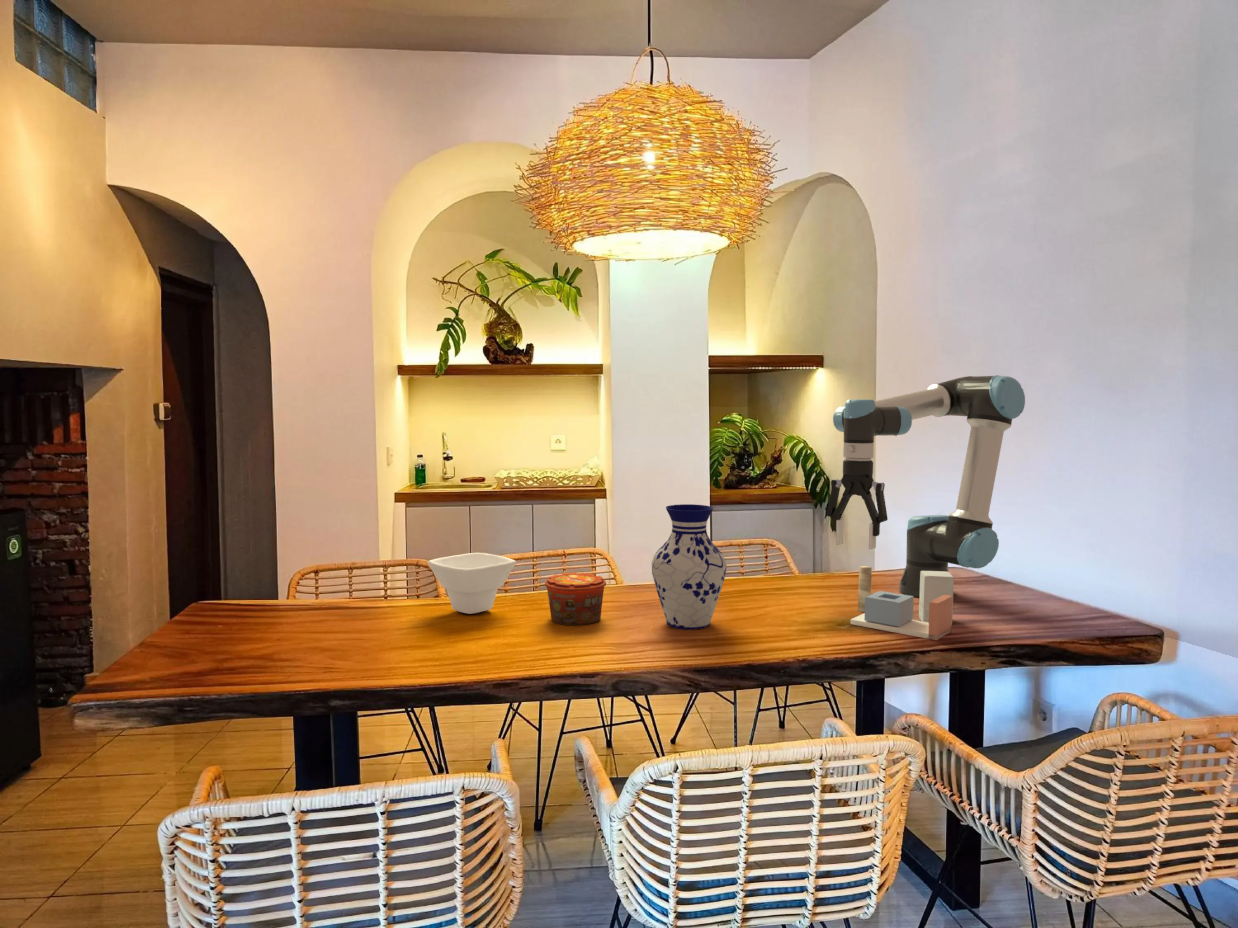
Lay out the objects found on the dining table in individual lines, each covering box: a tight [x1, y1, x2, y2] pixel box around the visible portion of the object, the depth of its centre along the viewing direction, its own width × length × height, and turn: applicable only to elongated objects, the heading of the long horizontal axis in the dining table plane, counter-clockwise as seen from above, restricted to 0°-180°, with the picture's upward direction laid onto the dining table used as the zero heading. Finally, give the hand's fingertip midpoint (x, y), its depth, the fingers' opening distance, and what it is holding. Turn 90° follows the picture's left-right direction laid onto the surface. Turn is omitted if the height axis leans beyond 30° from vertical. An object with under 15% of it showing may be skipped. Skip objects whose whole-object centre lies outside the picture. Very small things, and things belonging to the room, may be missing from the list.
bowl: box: [427, 552, 517, 615], centre depth 230 cm, size 19×19×14 cm
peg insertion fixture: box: [850, 595, 953, 641], centre depth 216 cm, size 10×22×9 cm, turn 50°
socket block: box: [864, 590, 915, 627], centre depth 218 cm, size 9×9×6 cm
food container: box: [544, 572, 607, 626], centre depth 223 cm, size 16×16×11 cm
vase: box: [651, 503, 727, 630], centre depth 218 cm, size 19×19×30 cm
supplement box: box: [918, 571, 955, 626], centre depth 223 cm, size 7×7×13 cm
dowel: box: [857, 565, 873, 613], centre depth 233 cm, size 3×3×12 cm
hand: (855, 546), depth 223 cm, fingers open, 8 cm apart
